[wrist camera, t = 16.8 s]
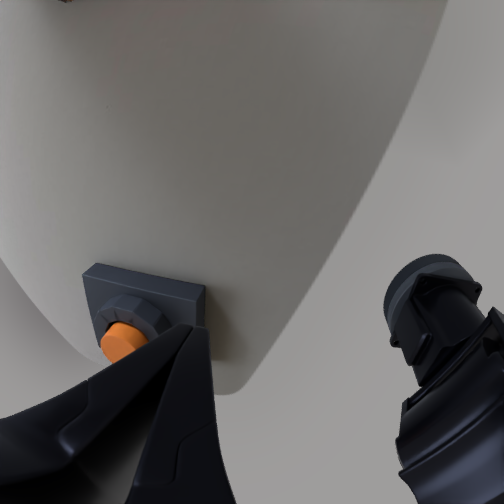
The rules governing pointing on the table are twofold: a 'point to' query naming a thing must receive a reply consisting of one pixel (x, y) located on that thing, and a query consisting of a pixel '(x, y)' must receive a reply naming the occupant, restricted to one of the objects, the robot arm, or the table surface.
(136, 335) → the button
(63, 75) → the table surface
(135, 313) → the switch block
